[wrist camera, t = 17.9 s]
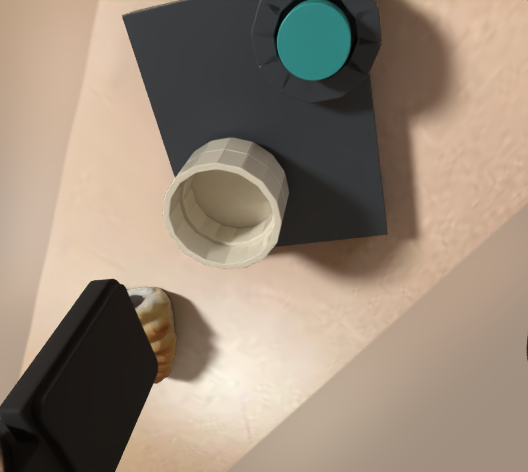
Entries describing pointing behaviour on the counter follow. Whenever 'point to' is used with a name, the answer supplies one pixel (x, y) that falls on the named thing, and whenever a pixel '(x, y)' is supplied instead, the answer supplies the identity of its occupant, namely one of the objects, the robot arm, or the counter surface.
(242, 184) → the bowl
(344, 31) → the button
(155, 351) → the pastry
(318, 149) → the dark grey flat block
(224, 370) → the counter surface
